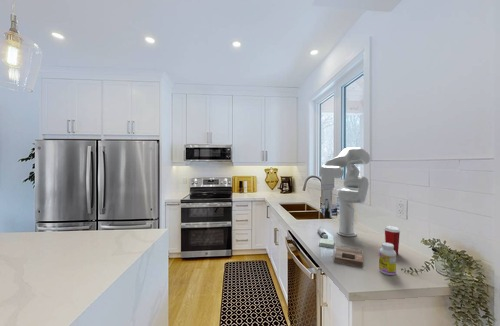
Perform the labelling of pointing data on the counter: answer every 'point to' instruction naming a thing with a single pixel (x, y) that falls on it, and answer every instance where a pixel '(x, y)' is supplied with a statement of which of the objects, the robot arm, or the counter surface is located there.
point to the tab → (327, 243)
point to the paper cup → (392, 236)
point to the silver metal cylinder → (330, 212)
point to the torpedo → (322, 233)
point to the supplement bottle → (387, 259)
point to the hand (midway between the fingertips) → (327, 216)
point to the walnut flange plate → (348, 256)
